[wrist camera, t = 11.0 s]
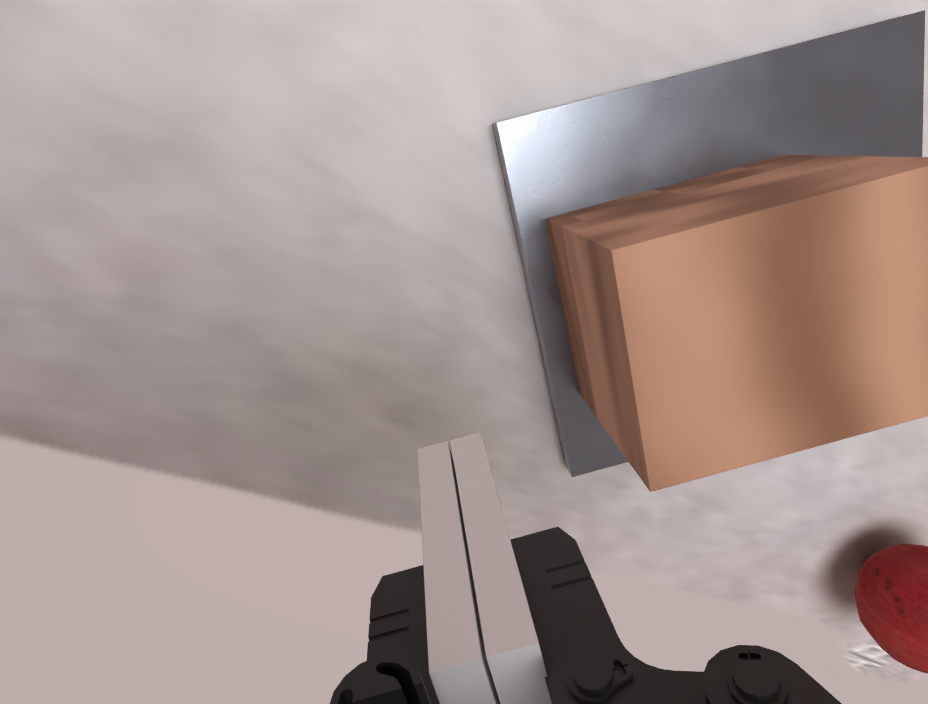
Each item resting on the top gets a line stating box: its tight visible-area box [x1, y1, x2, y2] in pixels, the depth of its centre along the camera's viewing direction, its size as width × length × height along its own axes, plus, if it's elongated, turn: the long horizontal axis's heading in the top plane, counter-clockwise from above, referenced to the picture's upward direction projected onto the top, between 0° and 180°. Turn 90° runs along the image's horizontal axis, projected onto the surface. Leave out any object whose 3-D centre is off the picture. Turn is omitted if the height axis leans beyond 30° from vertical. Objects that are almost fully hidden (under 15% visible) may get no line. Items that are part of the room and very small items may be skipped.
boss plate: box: [492, 10, 925, 477], centre depth 25 cm, size 17×16×3 cm
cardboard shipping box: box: [545, 155, 928, 492], centre depth 22 cm, size 10×8×8 cm
